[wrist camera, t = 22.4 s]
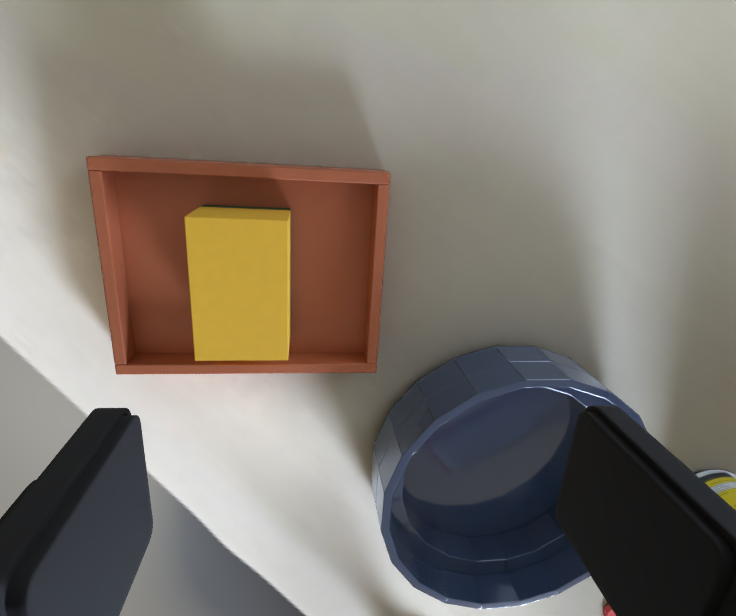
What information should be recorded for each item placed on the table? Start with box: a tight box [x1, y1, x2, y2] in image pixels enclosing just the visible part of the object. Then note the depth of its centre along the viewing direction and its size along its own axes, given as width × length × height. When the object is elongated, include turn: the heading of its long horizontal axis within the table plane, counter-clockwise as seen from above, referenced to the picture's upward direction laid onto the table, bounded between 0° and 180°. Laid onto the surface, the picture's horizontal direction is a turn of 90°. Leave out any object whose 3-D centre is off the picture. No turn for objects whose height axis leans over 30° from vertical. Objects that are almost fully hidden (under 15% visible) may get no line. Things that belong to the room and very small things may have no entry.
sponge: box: [184, 205, 291, 361], centre depth 24 cm, size 7×4×4 cm, turn 177°
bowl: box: [371, 346, 647, 609], centre depth 30 cm, size 17×17×5 cm
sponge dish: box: [86, 155, 390, 374], centre depth 25 cm, size 11×14×2 cm
